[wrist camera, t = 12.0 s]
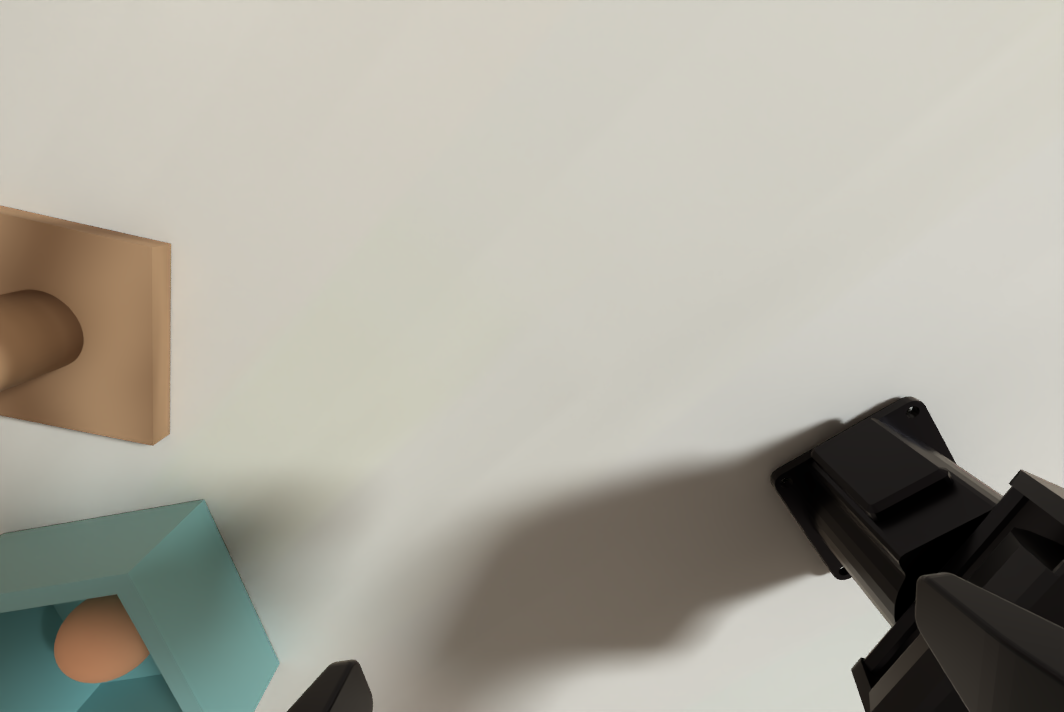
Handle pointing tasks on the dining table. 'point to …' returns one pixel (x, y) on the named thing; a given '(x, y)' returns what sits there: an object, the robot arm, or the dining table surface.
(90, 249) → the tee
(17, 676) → the teal open-top box
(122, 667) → the ball
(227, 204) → the dining table surface
